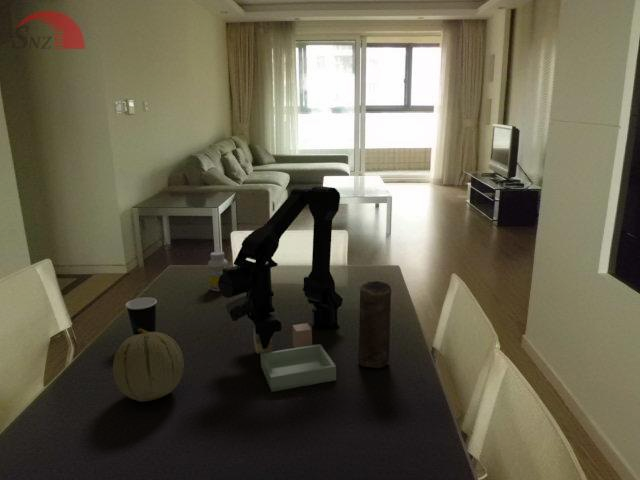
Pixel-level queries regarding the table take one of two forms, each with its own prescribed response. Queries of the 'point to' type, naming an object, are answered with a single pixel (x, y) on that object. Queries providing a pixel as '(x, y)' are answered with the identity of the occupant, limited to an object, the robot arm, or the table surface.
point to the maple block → (259, 346)
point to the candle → (374, 324)
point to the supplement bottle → (216, 268)
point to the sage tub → (297, 367)
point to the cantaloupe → (148, 366)
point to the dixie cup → (142, 314)
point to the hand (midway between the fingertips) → (263, 344)
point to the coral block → (302, 335)
